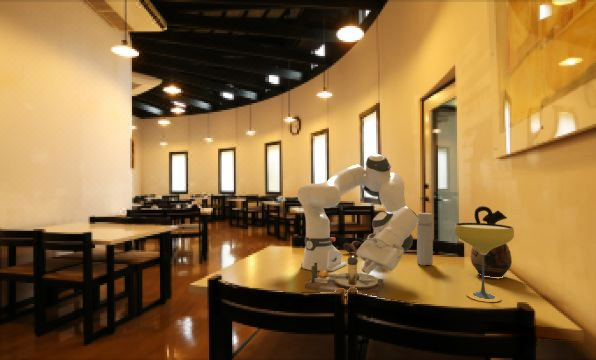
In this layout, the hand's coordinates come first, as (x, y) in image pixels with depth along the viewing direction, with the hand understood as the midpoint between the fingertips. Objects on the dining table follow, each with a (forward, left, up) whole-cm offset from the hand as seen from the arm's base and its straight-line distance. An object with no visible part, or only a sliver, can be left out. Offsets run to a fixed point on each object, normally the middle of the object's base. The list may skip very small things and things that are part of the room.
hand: (364, 272), depth 123 cm
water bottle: (-60, -3, -8) cm, 61 cm away
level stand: (0, -9, -8) cm, 12 cm away
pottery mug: (-55, -42, -8) cm, 70 cm away
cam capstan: (-1, -8, -5) cm, 9 cm away
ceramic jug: (-59, +25, -8) cm, 64 cm away
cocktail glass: (-26, +32, -8) cm, 42 cm away
